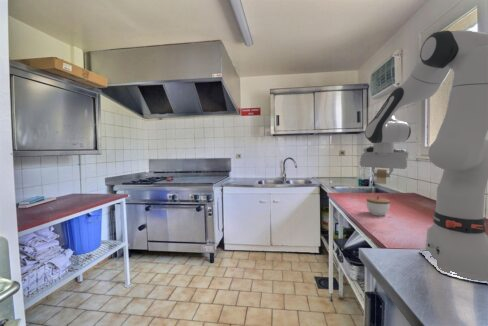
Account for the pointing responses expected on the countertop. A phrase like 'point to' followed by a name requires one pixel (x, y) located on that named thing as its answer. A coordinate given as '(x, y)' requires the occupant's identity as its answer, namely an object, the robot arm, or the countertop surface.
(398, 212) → the countertop surface
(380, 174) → the beech block
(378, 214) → the lidded jar
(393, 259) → the countertop surface
